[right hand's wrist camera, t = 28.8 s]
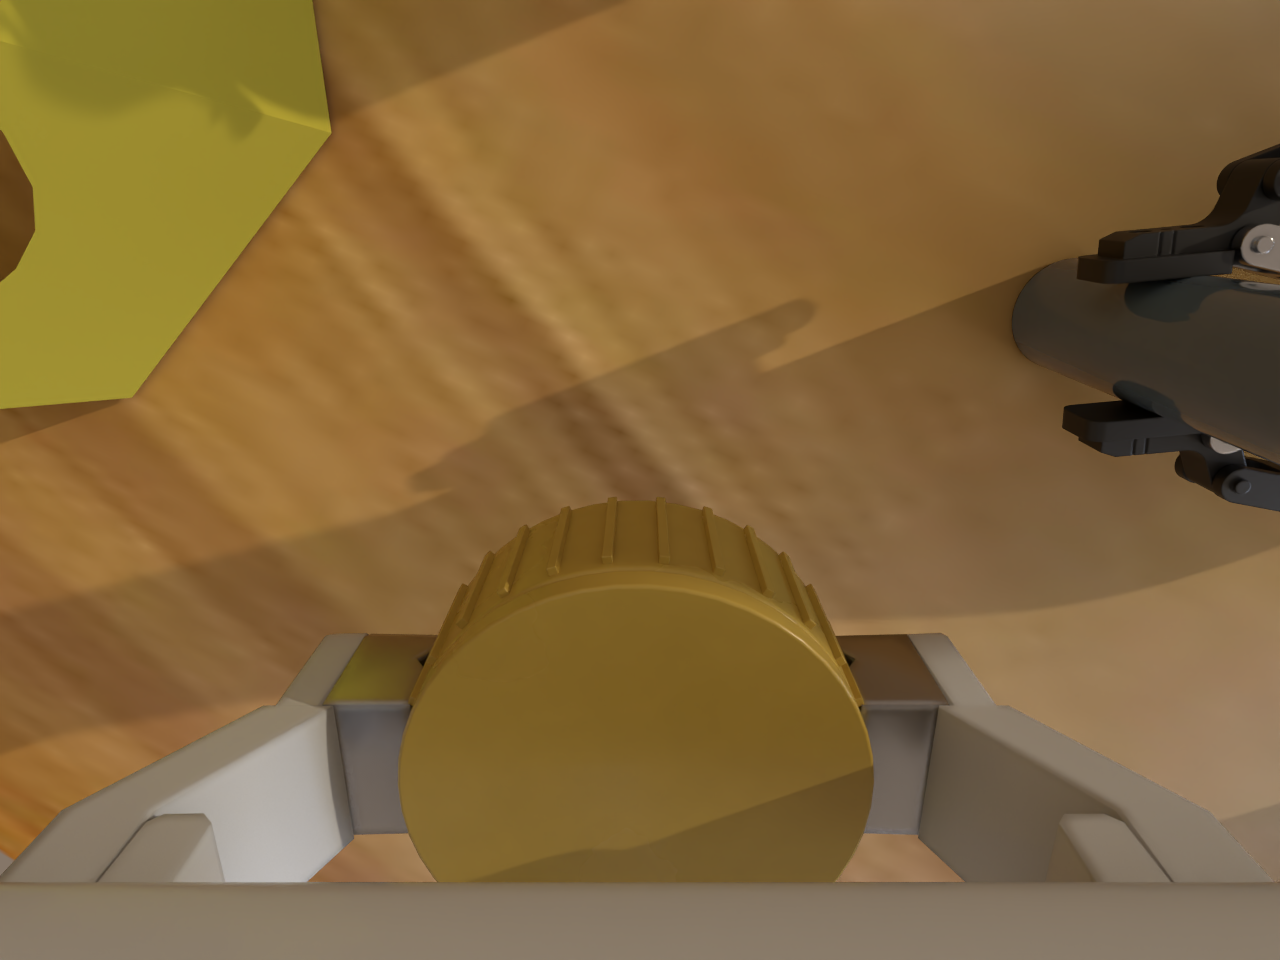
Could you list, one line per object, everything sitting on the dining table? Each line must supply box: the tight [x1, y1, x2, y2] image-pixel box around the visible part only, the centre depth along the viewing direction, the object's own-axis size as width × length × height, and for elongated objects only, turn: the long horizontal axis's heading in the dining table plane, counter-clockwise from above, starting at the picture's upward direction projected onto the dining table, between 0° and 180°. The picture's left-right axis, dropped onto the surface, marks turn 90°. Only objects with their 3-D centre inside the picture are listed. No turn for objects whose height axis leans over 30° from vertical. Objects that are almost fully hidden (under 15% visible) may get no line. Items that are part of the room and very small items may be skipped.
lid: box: [398, 497, 874, 882], centre depth 9 cm, size 5×5×2 cm
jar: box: [1012, 258, 1280, 465], centre depth 23 cm, size 4×4×19 cm
